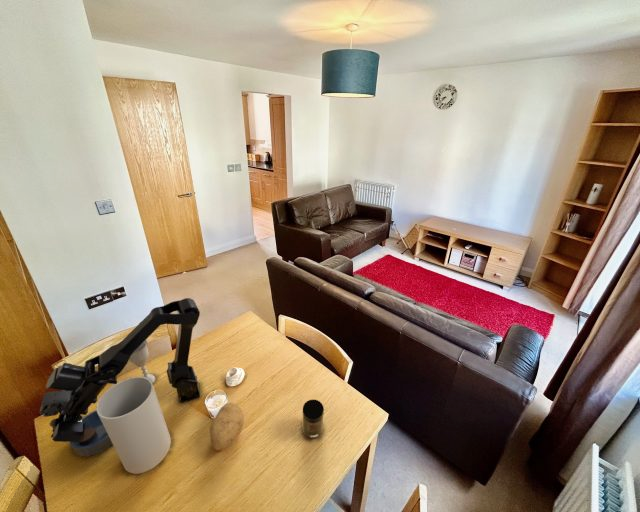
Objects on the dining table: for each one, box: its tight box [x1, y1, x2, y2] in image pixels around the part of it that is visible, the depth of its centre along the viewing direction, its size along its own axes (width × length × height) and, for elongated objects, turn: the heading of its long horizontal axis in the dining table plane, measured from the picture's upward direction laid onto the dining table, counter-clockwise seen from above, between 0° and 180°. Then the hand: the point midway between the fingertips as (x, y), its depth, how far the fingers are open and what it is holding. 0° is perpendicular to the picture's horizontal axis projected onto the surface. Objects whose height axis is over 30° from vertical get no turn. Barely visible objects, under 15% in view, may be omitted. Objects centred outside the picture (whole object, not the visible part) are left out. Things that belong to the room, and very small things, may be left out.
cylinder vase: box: [96, 376, 172, 475], centre depth 78 cm, size 12×12×25 cm
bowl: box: [68, 409, 113, 457], centre depth 86 cm, size 13×13×4 cm
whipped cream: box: [225, 366, 246, 387], centre depth 106 cm, size 8×7×5 cm
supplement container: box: [302, 399, 325, 440], centre depth 88 cm, size 7×7×10 cm
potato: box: [209, 402, 244, 451], centre depth 87 cm, size 10×14×8 cm
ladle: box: [49, 418, 96, 444], centre depth 82 cm, size 8×4×12 cm, turn 125°
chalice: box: [129, 339, 156, 384], centre depth 102 cm, size 7×7×18 cm
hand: (53, 434), depth 79 cm, fingers closed on ladle, 2 cm apart
